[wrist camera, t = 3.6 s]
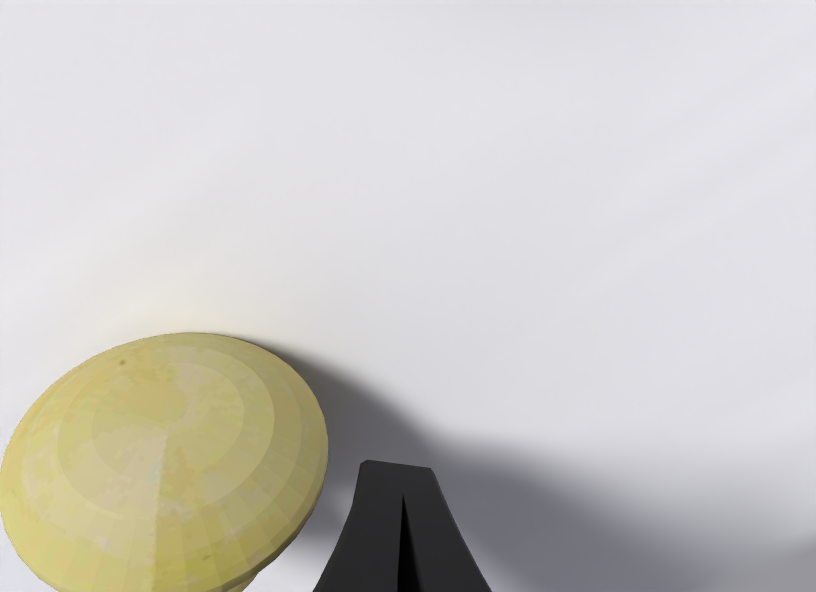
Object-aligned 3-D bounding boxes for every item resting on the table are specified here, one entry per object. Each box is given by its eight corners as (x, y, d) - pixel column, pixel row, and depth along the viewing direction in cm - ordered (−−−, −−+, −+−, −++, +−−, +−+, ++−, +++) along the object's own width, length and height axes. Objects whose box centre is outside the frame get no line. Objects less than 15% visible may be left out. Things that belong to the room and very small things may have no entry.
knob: (78, 300, 12) (-105, 483, 8) (344, 332, 13) (320, 522, 8) (94, 484, 14) (-44, 715, 10) (321, 506, 15) (293, 735, 10)
